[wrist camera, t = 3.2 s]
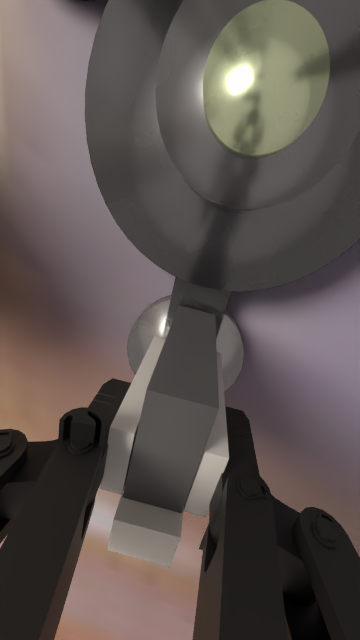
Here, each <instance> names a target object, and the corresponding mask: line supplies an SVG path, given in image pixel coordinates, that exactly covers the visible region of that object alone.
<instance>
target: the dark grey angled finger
mask: <svg viewBox="0 0 360 640" xmlns="http://www.w3.org/2000/svg"><path fill="white" fill-rule="evenodd" d="M218 410H219V394H218V371H217V347H216V324H215V315H214V314H211V313H207V312H203V311H199V310H195V309H191V308H187V307H183V306H179V305H178V308H177V311H176V313H175V316H174V319H173V321H172V324H171V326H170V329H169V332H168V334H167V337H166V340H165V342H164V345H163V347H162V350H161V353H160V355H159V358H158V361H157V363H156V366H155V368H154V371H153V374H152V376H151V379H150V382H149V384H148V387H147V389H146V394H145V398H144V403H143V407H142V412H141V416H140V421H139V425H138V430H137V434H136V439H135V443H134V448H133V452H132V457H131V461H130V466H129V470H128V475H127V479H126V484H125V488H124V493H123V494H122V496H121V499H120V502H119V505H118V508H117V511H116V514H115V517H114V521H113V525H112V530H111V535H110V539H109V544H108V549H107V550H109V551H113V552H116V553H120V554H124V555H127V556H131V557H134V558H138V559H142V560H145V561H149V562H153V563H156V564H160V565H163V566H167V567H170V565H171V562H172V559H173V557H174V554H175V551H176V549H177V546H178V543H179V541H180V538H181V529H182V518H183V508H184V505H185V502H186V499H187V497H188V494H189V491H190V488H191V485H192V483H193V480H194V477H195V474H196V472H197V469H198V466H199V463H200V460H201V458H202V455H203V452H204V449H205V447H206V444H207V441H208V438H209V435H210V433H211V430H212V427H213V424H214V422H215V419H216V416H217V413H218Z"/></svg>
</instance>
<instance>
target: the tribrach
mask: <svg viewBox="0 0 360 640" xmlns="http://www.w3.org/2000/svg"><path fill="white" fill-rule="evenodd" d="M83 1H91V0H83ZM85 123H86V135H87V143H88V148H89V154H90V159H91V164H92V167H93V171H94V174H95V177H96V181H97V184H98V187H99V189H100V191H101V194H102V196H103V198H104V201H105V203H106V205H107V207H108V209H109V210H110V212H111V214H112V216H113V217H114V219H115V221H116V223H117V224H118V225H119V227H120V228H121V230H122V231H123V232H124V234H125V235H126V236H127V238H128V239H129V240H130V241H131V242H132V243H133V244H134V245H135V246H136V248H137V249H138V250H139V251H140V252H141V253H142V254H144V255H145V256H146V257H147V258H148V259H150V260H151V261H152V262H153V263H154V264H156V265H157V266H159V267H160V268H162V269H163V270H165V271H167V272H168V273H170V274H172V275H174V276H176V278H175V283H174V287H173V291H172V295H170V296H167V297H164V298H161V299H159V300H157V301H156V302H154V303H153V304H151V305H150V306H149V307H148V308H147V309H146V310H145V311H144V312H143V313H142V314H141V316H140V317H139V318H138V320H137V321H136V323H135V324H134V326H133V328H132V330H131V332H130V335H129V339H128V346H127V350H128V359H129V362H130V365H131V368H132V370H133V372H134V374H135V375H136V373H137V371H138V369H139V367H140V365H141V362H142V360H143V358H144V356H145V354H146V352H147V350H148V348H149V346H150V344H151V342H152V340H153V338H154V336H155V337H159V338H163V339H166V337H167V334H168V332H169V329H170V326H171V324H172V321H173V319H174V316H175V313H176V311H177V308H178V305H179V306H183V307H187V308H191V309H195V310H199V311H203V312H207V313H211V314H214V315H215V324H216V347H217V352H219V353H221V357H222V370H223V384H224V392H225V391H226V390H227V389H229V388H230V387H231V385H232V384H233V383H234V382H235V380H236V379H237V377H238V376H239V373H240V371H241V368H242V365H243V359H244V349H243V343H242V339H241V335H240V332H239V329H238V326H237V324H236V322H235V320H234V319H233V318H232V316H231V315H230V314H229V313H228V311H227V310H226V307H227V304H228V301H229V298H230V294H231V291H254V290H262V289H267V288H272V287H277V286H280V285H283V284H286V283H289V282H293V281H296V280H298V279H300V278H302V277H305V276H307V275H309V274H311V273H313V272H315V271H317V270H319V269H320V268H322V267H324V266H325V265H327V264H329V263H330V262H332V261H334V260H335V259H336V258H337V257H339V256H340V255H341V254H343V253H344V252H345V251H347V250H348V249H349V248H351V247H352V246H353V245H354V244H355V243H356V242H357V241H358V240H359V239H360V0H108V3H107V5H106V7H105V9H104V12H103V15H102V18H101V21H100V23H99V26H98V29H97V32H96V35H95V39H94V43H93V47H92V52H91V56H90V60H89V66H88V74H87V82H86V91H85Z"/></svg>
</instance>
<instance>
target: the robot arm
mask: <svg viewBox="0 0 360 640" xmlns="http://www.w3.org/2000/svg"><path fill="white" fill-rule="evenodd" d="M165 340H166V339H163V338H159V337H155V336H154V338H153V340H152V342H151V344H150V346H149V348H148V350H147V352H146V354H145V356H144V358H143V360H142V362H141V365H140V367H139V369H138V371H137V373H136V375H135V377H134V379H133V381H132V383H129V382H125V381H121V380H117V379H113V378H112V379H111V380H109V381H108V382H106V383H104V384H103V386H102V387H101V389H100V390H99V392H98V394H97V395H96V396H95V398H94V399H93V401H92V402H91V404H90V405H89V407H88V408H77V409H73V410H71V411H69V412H67V413H65V414H64V415H63V416H62V418H61V419H60V423H59V438H58V439H56V440H53V441H42V442H28V441H27V438H26V436H25V434H23V433H22V432H20V431H18V430H13V429H3V430H0V543H1V542H2V541H3V539H4V538H5V537H6V536H7V537H6V539H5V541H4V543H3V544H2V546H1V548H0V640H54V638H55V634H56V631H57V628H58V624H59V621H60V618H61V614H62V611H63V608H64V604H65V601H66V598H67V594H68V591H69V588H70V584H71V581H72V577H73V574H74V571H75V567H76V564H77V561H78V557H79V554H80V551H81V547H82V544H83V541H84V537H85V534H86V531H87V527H88V524H89V520H90V517H91V514H92V510H93V507H94V503H95V496H96V493H97V490H98V488H99V486H100V483H101V487H100V489H103V490H106V491H110V492H114V493H118V494H121V495H122V493H123V490H124V487H125V484H126V479H127V475H128V470H129V466H130V461H131V457H132V452H133V448H134V443H135V439H136V434H137V430H138V425H139V421H140V416H141V412H142V407H143V403H144V398H145V394H146V389H147V387H148V384H149V382H150V379H151V376H152V374H153V371H154V368H155V366H156V363H157V361H158V358H159V355H160V353H161V350H162V347H163V345H164V342H165ZM217 371H218V394H219V410H218V413H217V416H216V419H215V422H214V424H213V427H212V430H211V433H210V435H209V438H208V441H207V444H206V447H205V449H204V452H203V455H202V458H201V460H200V463H199V466H198V469H197V472H196V474H195V477H194V480H193V483H192V485H191V488H190V491H189V494H188V497H187V499H186V502H185V505H184V510H183V511H185V512H189V513H193V514H197V515H200V516H204V517H206V515H207V512H208V510H209V507H210V519H209V524H208V527H207V529H206V532H205V534H204V536H203V539H202V541H201V544H200V547H199V549H201V550H203V556H202V565H201V573H200V582H199V590H198V599H197V607H196V616H195V624H194V633H193V640H360V557H359V555H358V554H357V552H356V550H355V548H354V546H353V544H352V542H351V541H350V539H349V537H348V535H347V534H346V532H345V531H344V529H343V528H342V526H341V525H340V524H339V523H338V522H337V521H336V520H335V519H334V518H333V517H332V516H331V515H329V514H328V513H326V512H325V511H323V510H321V509H318V508H315V507H308V508H305V509H304V510H303V511H302V512H301V513H299V512H297V511H295V510H294V509H292V508H290V507H288V506H287V505H285V504H283V503H282V502H280V501H279V500H277V499H276V498H275V497H274V496H273V495H271V493H270V490H269V487H268V486H267V484H266V483H265V481H264V480H263V479H262V478H261V477H260V475H259V470H258V465H257V460H256V454H255V449H254V444H253V441H252V440H253V439H252V433H251V428H250V423H249V420H248V418H247V417H246V415H245V414H244V412H243V411H241V410H237V409H233V408H229V407H225V397H224V384H223V370H222V357H221V353H219V352H217ZM7 534H8V535H7Z"/></svg>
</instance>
